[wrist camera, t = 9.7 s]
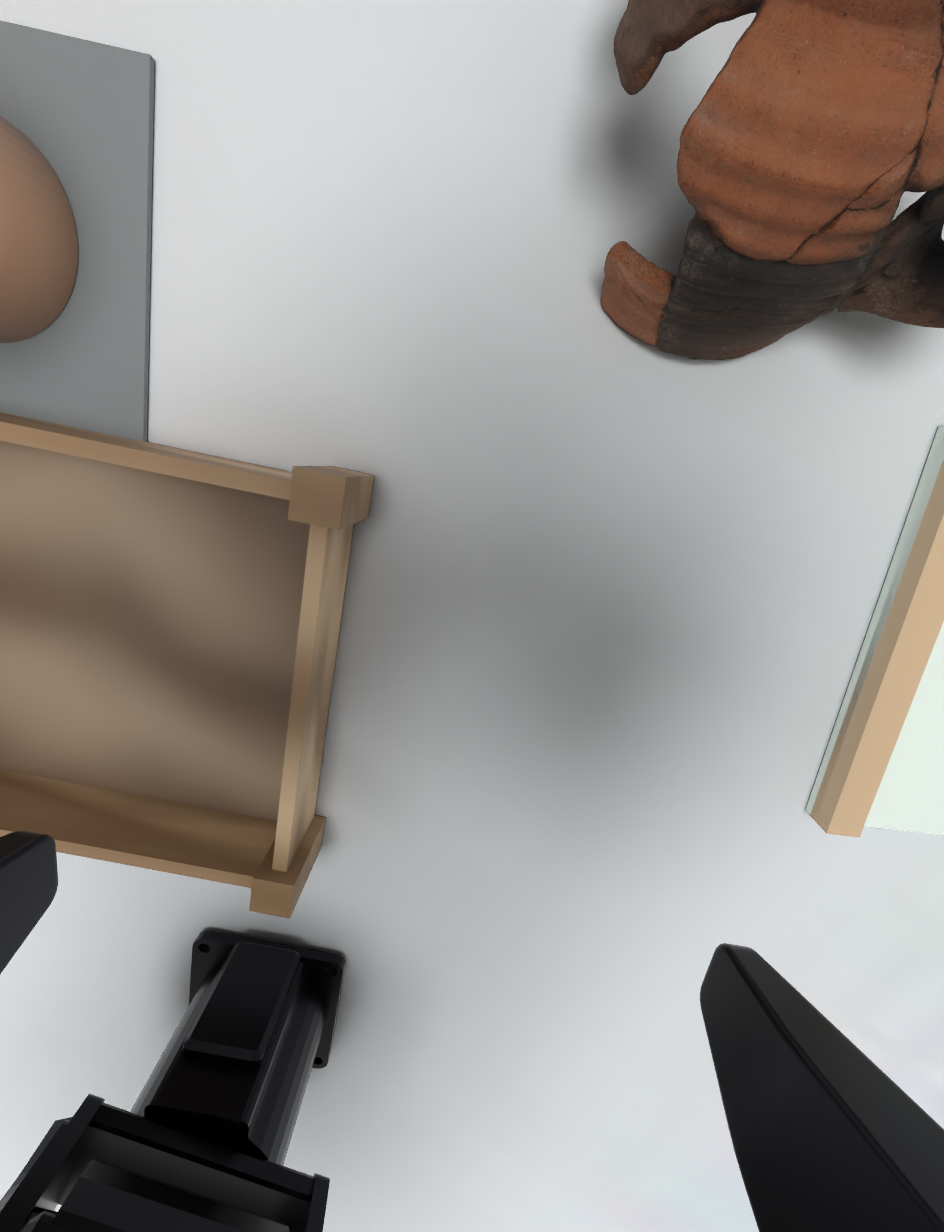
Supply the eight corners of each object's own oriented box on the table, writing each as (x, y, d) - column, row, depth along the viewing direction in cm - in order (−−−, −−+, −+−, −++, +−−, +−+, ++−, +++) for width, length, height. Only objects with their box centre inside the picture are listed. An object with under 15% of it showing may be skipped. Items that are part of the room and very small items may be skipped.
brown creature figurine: (499, 286, 16) (539, -190, 8) (657, 108, 18) (819, -416, 10) (855, 500, 14) (1362, 185, 6) (983, 279, 16) (1491, -174, 8)
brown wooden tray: (321, 845, 21) (290, 918, 18) (-46, 776, 21) (-150, 837, 17) (374, 474, 17) (346, 477, 13) (-86, 379, 16) (-232, 357, 13)
